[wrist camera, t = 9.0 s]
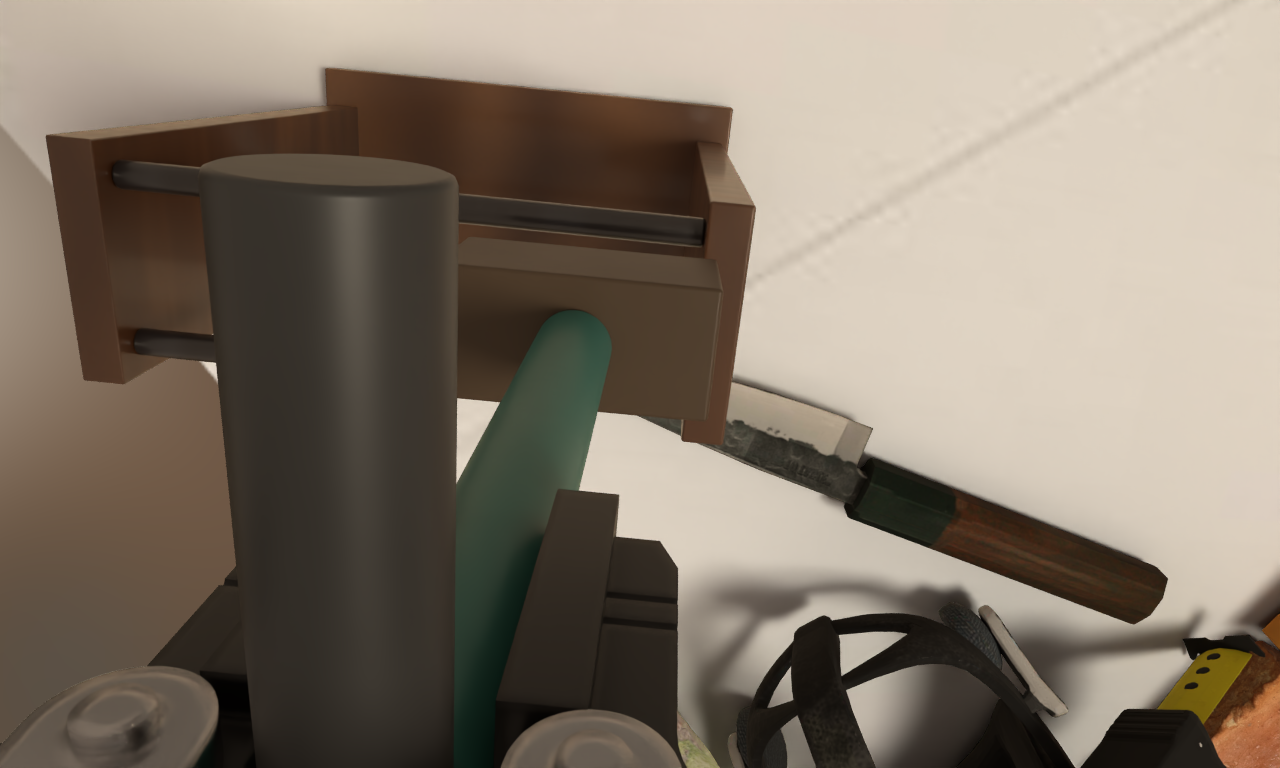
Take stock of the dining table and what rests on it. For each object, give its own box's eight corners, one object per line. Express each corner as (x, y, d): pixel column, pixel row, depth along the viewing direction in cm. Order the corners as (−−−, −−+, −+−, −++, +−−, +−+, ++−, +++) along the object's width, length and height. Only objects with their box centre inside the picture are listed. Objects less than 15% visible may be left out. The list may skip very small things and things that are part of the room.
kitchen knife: (1192, 558, 44) (1139, 631, 46) (1170, 537, 46) (1119, 607, 48) (560, 314, 41) (528, 402, 43) (566, 302, 43) (535, 386, 45)
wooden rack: (340, 273, 43) (80, 430, 24) (333, 68, 40) (22, 67, 21) (706, 310, 43) (726, 497, 24) (731, 107, 39) (777, 142, 21)
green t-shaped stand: (464, 477, 22) (8, 1345, 7) (470, 80, 19) (-415, 117, 4) (688, 499, 22) (711, 1423, 7) (736, 104, 19) (987, 250, 4)
